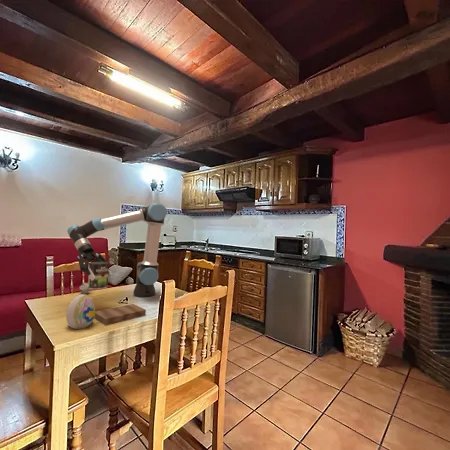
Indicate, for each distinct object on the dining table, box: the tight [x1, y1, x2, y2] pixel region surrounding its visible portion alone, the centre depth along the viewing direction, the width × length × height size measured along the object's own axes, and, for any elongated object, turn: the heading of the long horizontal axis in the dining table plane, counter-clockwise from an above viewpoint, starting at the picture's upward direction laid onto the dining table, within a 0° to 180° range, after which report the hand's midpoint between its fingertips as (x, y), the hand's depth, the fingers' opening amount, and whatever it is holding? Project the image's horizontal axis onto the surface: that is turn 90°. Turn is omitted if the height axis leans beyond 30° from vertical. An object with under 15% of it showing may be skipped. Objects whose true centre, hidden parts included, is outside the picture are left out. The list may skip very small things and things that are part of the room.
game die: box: [77, 281, 93, 295], centre depth 179 cm, size 9×8×10 cm
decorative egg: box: [65, 293, 96, 330], centre depth 125 cm, size 12×12×15 cm
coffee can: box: [87, 261, 110, 291], centre depth 147 cm, size 10×10×14 cm
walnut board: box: [94, 303, 147, 326], centre depth 139 cm, size 22×14×3 cm, turn 138°
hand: (102, 277), depth 145 cm, fingers closed on coffee can, 10 cm apart
